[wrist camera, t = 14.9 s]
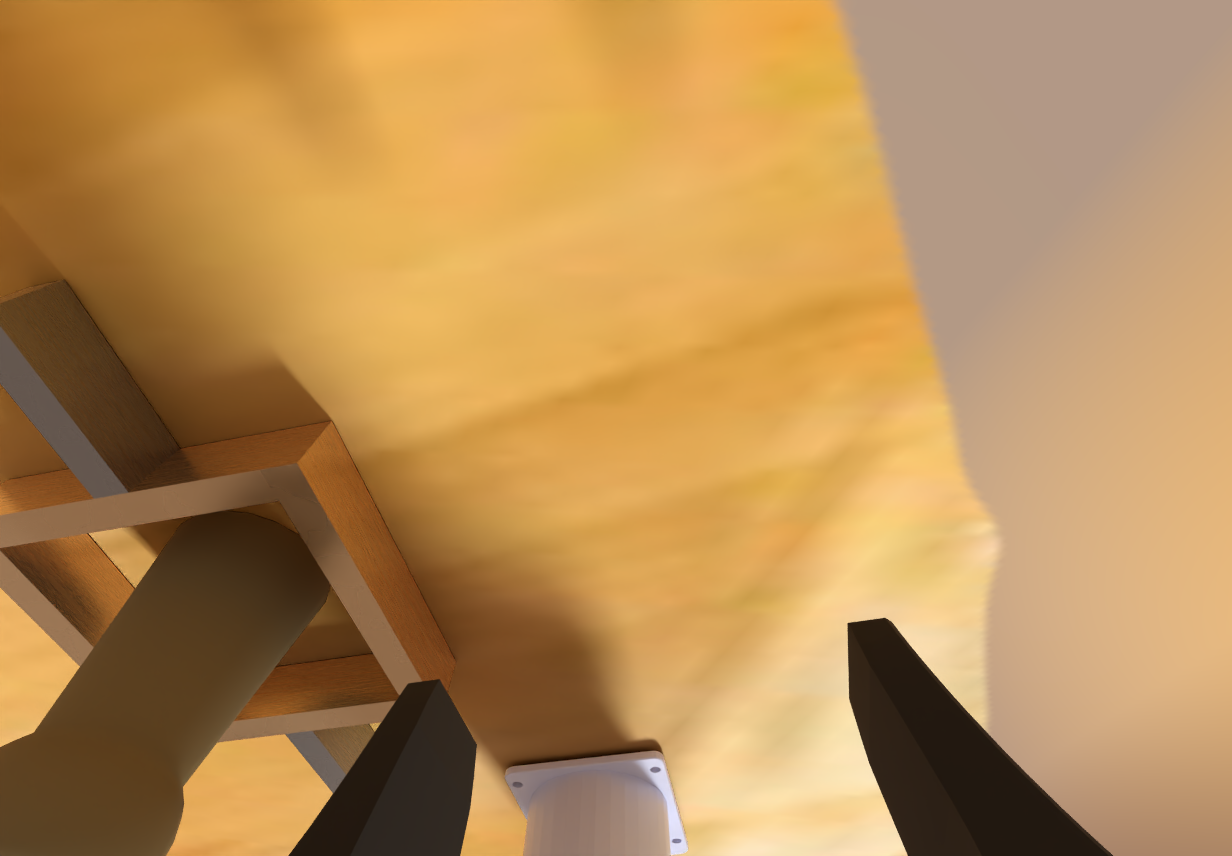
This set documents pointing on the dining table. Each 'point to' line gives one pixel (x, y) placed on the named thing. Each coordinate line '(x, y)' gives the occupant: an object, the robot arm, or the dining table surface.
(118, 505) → the square frame
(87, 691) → the cork
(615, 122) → the dining table surface
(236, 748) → the dining table surface
